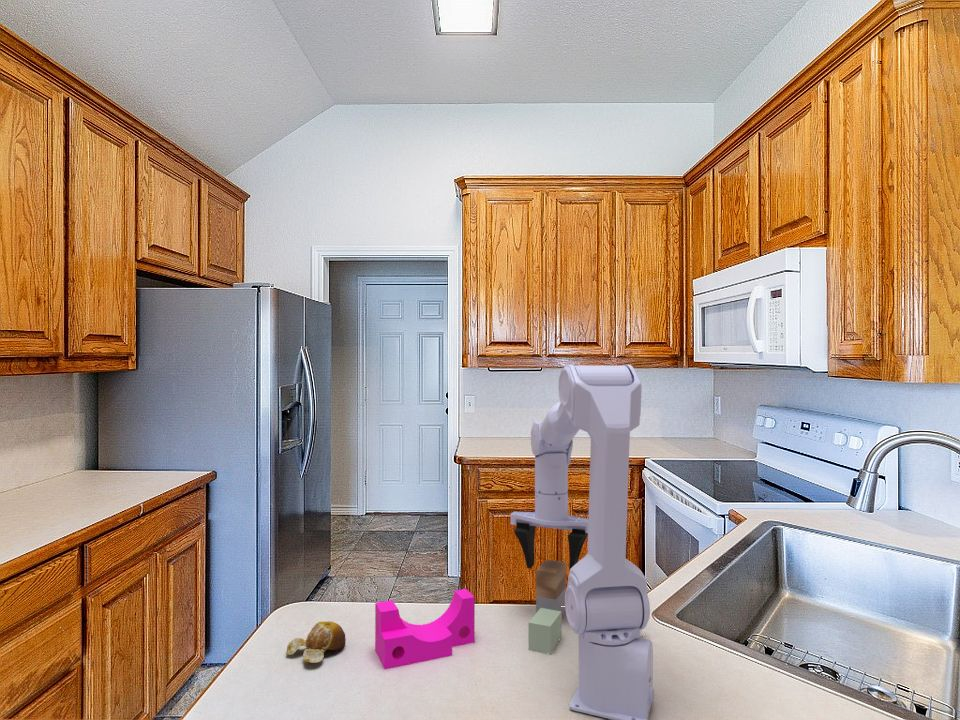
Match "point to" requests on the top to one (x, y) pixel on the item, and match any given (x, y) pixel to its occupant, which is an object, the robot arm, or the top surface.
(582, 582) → the robot arm
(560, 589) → the walnut brick
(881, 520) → the top surface
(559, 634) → the sage brick
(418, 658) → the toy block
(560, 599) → the slate brick
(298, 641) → the fruit
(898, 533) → the top surface
